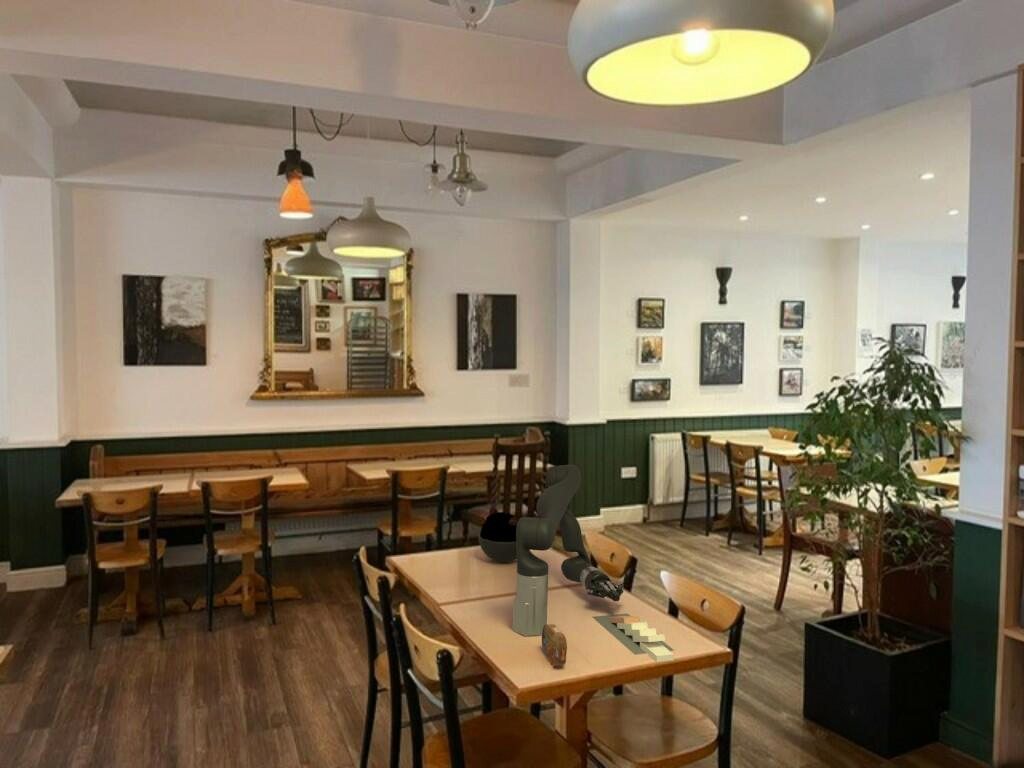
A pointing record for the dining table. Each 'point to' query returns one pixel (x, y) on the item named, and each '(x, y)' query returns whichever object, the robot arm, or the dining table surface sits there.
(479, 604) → the dining table surface
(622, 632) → the mat
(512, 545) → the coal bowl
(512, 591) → the dining table surface
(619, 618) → the domino
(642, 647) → the domino
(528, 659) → the dining table surface
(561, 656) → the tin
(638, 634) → the domino
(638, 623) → the domino
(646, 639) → the domino
